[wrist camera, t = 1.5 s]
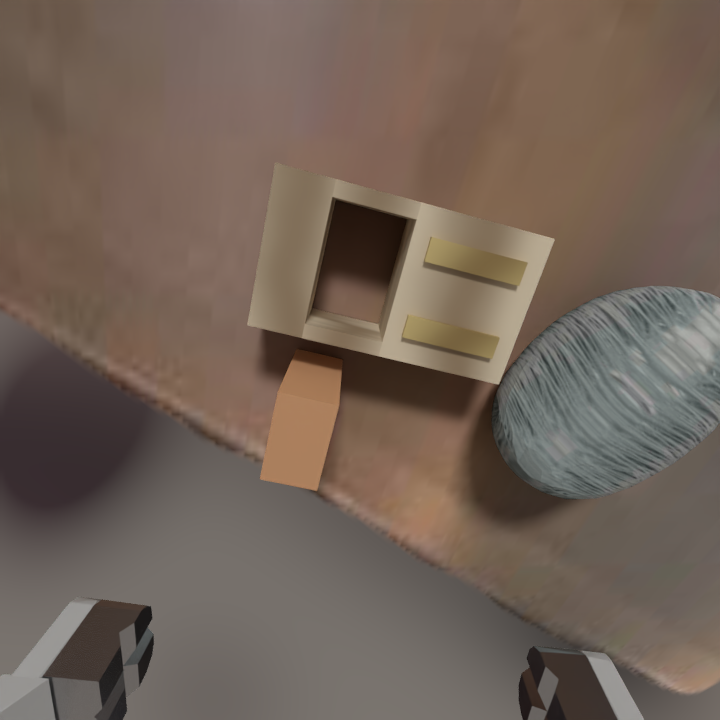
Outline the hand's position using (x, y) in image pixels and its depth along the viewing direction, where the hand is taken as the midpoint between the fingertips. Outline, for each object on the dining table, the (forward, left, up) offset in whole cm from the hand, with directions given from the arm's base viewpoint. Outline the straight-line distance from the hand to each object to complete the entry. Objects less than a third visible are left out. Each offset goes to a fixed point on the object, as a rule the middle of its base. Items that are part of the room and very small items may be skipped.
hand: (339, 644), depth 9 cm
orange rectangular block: (-2, -3, -19) cm, 19 cm away
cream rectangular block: (+1, +6, -19) cm, 20 cm away
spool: (+14, +3, -19) cm, 24 cm away
